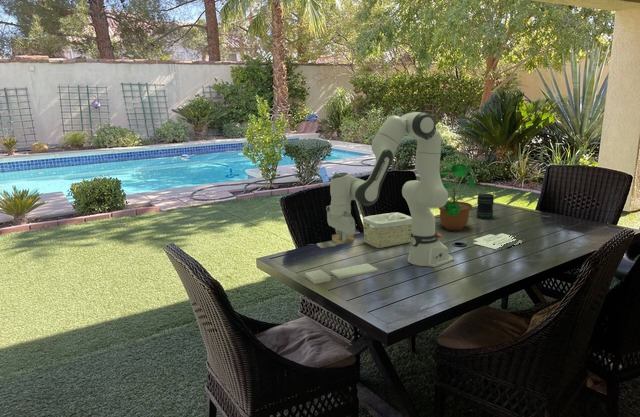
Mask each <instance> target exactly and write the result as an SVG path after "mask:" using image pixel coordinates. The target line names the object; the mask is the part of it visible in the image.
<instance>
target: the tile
mask: <svg viewBox="0 0 640 417" xmlns="http://www.w3.org/2000/svg"><path fill="white" fill-rule="evenodd" d="M304 276H305V278H306V279H307V280H309V281H310V282H311V283H312V284H314V285H316V284H321V283H325V282H331V281H332V278H331V276H330V275H329V274H328V273H326V272H324V271H323V270H322V269H317V270H313V271H307V272H304Z"/></svg>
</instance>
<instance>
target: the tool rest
mask: <svg viewBox="0 0 640 417" xmlns="http://www.w3.org/2000/svg"><path fill="white" fill-rule="evenodd" d="M378 270H379V269H378V268H377V267H375V266H373V265H371V264H370V263H368V262H367V263H363V264H358V265H352V266H347V267H342V268H337V269H332V270H330V271H329V273H330V274H331V275H332V276H334V277H335V278H337V279H338V280H342V279H346V278H347V279H348V278H352V277H356V276H361V275H365V274H370V273H376V272H378Z"/></svg>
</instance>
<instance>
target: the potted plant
mask: <svg viewBox="0 0 640 417" xmlns="http://www.w3.org/2000/svg"><path fill="white" fill-rule="evenodd" d="M443 167H446V168H451V171H450V170H443V171H442V172H441V173H440V177H441V180H443V179H444V184H443V186H444V188H445V189H446V190H447V192H448V196H450V198H452V199H453V200H451V201H450V200H449V199H448V200H447V202H446V204H445V205H444V206H443V207H440V208H438V209H439V220H440V222H441V225H442V226H443V227H444V228H445V229H446V230H448V231H461V230H463V228H464V227H465V226H466V225H467V224H468V221H469V218H470V217H469V215H470V214H469V213H470V212H471V210H472V209H473V204H471V203H469V202H465V201H459V199H460V198H461V197H462V194H463V193H464V191H465V189H466V187H467V185H469V187H470V188H473V187H474V186H475V182H474V176H473V175H472V174H473V173H474V174H476V172H475V171H474V170H473V169H471V168H467V166H466V165H464V164H462V163H456V164H452V163H448V164H443V165H441V166H440V168H443ZM450 172H452V173H453V174H454V175H455V179H454V183H456V180H457V178H461V179H460V182H459V183H458V186H457V189H456V184H452V183H451V182H450V181H451V180H450ZM468 172H470V173H469V176H468V179H467V180H468V181H467V183H466V184H465V187H464V189H462V192H461V194H460V195H459V196H458V198H457V199H456V194H457V192H458V189H459V186H460V185H461V182H462V180H463V178H464V176H466V175H467V173H468ZM471 172H473V173H471ZM453 186H454V187H453ZM448 189H449V190H448Z"/></svg>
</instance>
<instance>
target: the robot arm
mask: <svg viewBox="0 0 640 417" xmlns="http://www.w3.org/2000/svg"><path fill="white" fill-rule="evenodd" d="M405 137H411V138H412V137H413V138H415V140H416V144H417V145H416V152H415V153H416V154H415V161H414V162H415V163H414V169H415V171H416V172H417V174H418V176H419V180H416V179H415V180H408V181H406V182H405V183H404V184H403V185H402V189H401V194H402V197H403V198H404V199H405V201H406V203H407V205H408V208H409V212H410V217H411V219H412V232H411V237H410V248H409V254H408V257H407V262H408V263H410V264H412V265H414V266H418V267H419V266H420V267H431V268H437V267H439V266H441V265H445V264H447V263H451V262H453V261H454V257H453V256H452V255H450V254H449V252H450V251H449V248H448V246H446V245H445V244H444V243H442V242H441V241H440V240H439V239H442V238H443V234H441V233H437V232H436V217H435V214H433V212H432V210H431V208H432V209H439V208H440V207H443V206H444V205H445V204H446V202H447V201H448V200H449V193H448V191H447V188H445V187H444V186H443V185H444V184H443V181H442V179H441V177H440V174H441V173H440V168H441V166H440V164H441V153H442V138H441V133H440V131H439V130H437V125H436V121H435V118H434V116H433V115H431V114H430V113H428V112H423V111H422V112H420V111H412V112H405V113H402V114H401V115H400V116H398V115H390V116H388V117H387V119H386V120H385V121H384V122H383V124H382V125H381V126H380V127H379V129H378V131H377V132H376V134H375V136H374V138H373V140H372V143H371V150H372V154H373V155H374V157H375V164H374V165H373V168H372V171H371V173H370V175H369V176H368V179H366V180H364V179H361V178H358V177H355V176H352V175H350V174H349V172H339V173H335V174H334V175H332V176H331V179H330V187H329V188H330V189H329V191H330V194H329V195H330V196H331V198H330V199H331V201H330V204H329V205H327V206H326V208H325V210H326V218H327V219H326V220H327V224H328V226H329V227H332V228H333V229H334V230H335V234H341V233H342V237H341V240H342V241H346V236H347V235H352V234H354V235H355V234H356V221H355V219H354V217H353V216H352V214H351V212H352V211H351V210H352V206H351V203H352V201H356V202H358V203H359V204H360V205H361V206H364V207H371V206H372V205H374V204H375V203H376V202H377V201H378V199H379V198H380V193H381V188H382V185H383V183H384V180H385V178H386V176H387V174H388V172H389V169H390V167H391V165H392V163H393V160H394V155H395V153H396V151H397V149H398V147H399V146H400V144H401V142H402V139H404V138H405Z"/></svg>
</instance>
